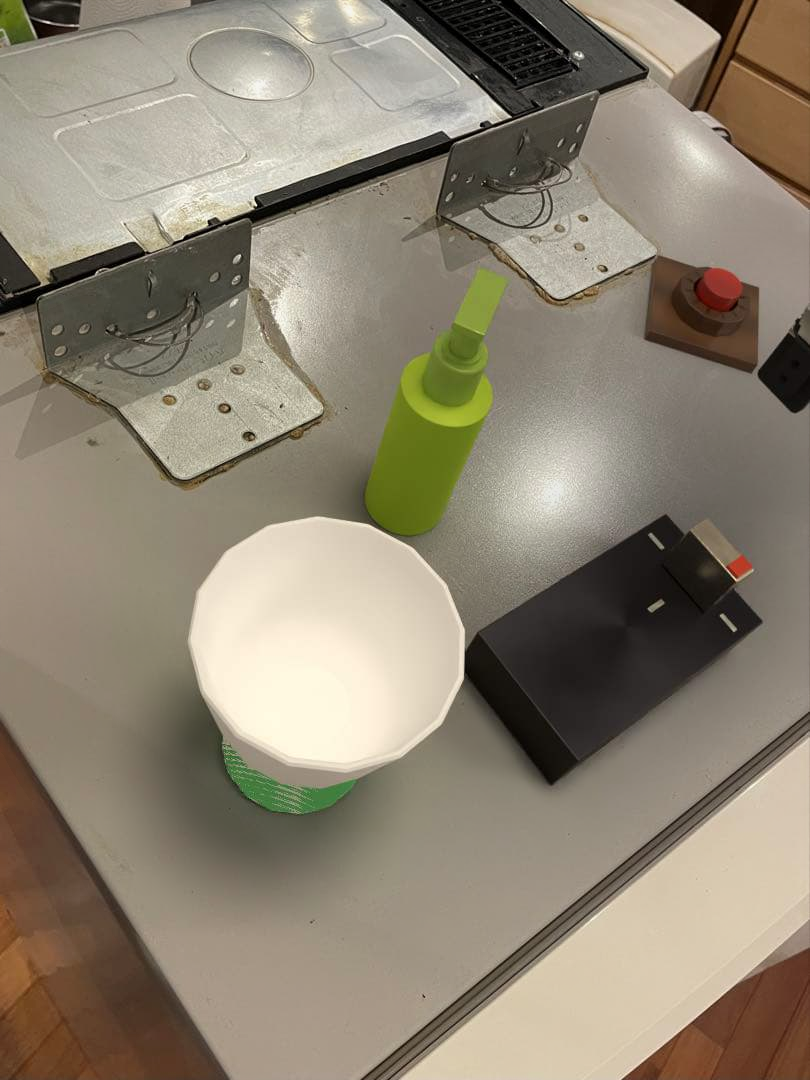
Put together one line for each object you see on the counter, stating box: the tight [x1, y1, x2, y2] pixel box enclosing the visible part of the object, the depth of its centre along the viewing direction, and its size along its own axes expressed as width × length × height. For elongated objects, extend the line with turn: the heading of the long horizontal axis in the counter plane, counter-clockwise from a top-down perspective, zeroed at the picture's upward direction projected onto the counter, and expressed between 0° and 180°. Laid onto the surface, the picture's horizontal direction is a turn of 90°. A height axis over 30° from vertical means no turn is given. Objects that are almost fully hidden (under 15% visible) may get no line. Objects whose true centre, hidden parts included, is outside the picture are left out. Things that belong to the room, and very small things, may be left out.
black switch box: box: [464, 513, 764, 786], centre depth 67 cm, size 20×10×5 cm, turn 127°
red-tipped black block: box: [662, 518, 755, 612], centre depth 66 cm, size 4×2×5 cm, turn 36°
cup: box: [186, 515, 466, 815], centre depth 55 cm, size 14×14×16 cm
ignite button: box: [695, 267, 742, 312], centre depth 86 cm, size 4×4×2 cm
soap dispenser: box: [364, 266, 510, 537], centre depth 64 cm, size 6×7×20 cm
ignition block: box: [644, 254, 760, 374], centre depth 88 cm, size 10×10×3 cm
